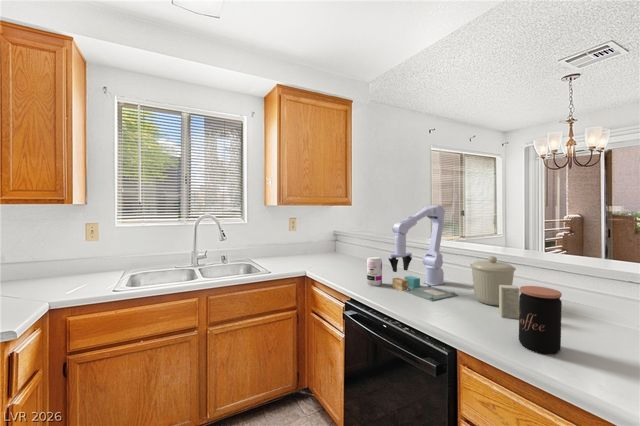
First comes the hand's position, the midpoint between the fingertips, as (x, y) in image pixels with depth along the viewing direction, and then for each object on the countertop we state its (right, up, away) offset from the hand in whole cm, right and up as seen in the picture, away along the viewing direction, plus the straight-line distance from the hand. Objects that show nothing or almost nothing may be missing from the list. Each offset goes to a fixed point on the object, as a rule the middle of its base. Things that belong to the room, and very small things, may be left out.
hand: (400, 270), depth 161 cm
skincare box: (+33, -11, -40) cm, 53 cm away
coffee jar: (+26, -11, -66) cm, 72 cm away
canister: (+36, -10, -23) cm, 44 cm away
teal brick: (+8, -9, +4) cm, 13 cm away
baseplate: (+13, -10, -9) cm, 18 cm away
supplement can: (-12, -9, +9) cm, 18 cm away
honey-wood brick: (0, -10, 0) cm, 10 cm away
